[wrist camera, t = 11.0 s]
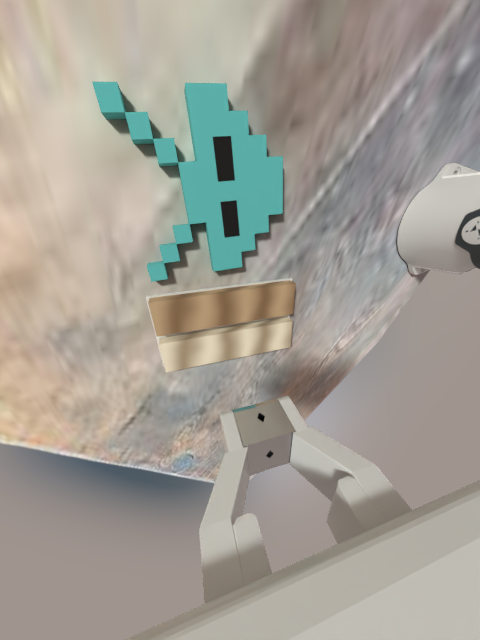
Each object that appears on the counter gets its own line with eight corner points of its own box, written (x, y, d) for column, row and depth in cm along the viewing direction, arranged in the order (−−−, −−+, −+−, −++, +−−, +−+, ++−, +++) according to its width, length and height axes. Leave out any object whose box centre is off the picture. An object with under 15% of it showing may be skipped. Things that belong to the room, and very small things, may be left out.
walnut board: (289, 280, 37) (295, 283, 35) (287, 313, 40) (292, 317, 38) (149, 298, 32) (148, 302, 30) (158, 334, 35) (157, 340, 33)
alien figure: (152, 277, 32) (277, 257, 36) (151, 281, 30) (282, 260, 34) (99, 93, 22) (274, 93, 26) (92, 81, 21) (282, 84, 24)
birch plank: (287, 316, 40) (292, 321, 38) (285, 341, 42) (290, 347, 41) (159, 338, 35) (158, 344, 33) (166, 365, 37) (165, 372, 36)
